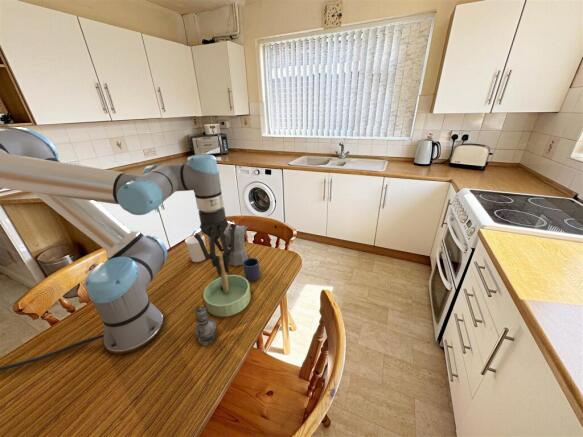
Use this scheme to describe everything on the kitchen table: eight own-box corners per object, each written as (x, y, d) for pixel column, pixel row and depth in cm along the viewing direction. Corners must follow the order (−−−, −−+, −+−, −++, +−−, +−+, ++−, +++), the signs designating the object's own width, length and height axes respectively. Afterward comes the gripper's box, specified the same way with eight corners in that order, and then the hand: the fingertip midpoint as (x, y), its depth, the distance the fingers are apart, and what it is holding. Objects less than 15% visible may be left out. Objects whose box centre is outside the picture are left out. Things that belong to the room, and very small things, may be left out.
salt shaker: (211, 347, 67) (203, 316, 62) (193, 344, 68) (183, 313, 63) (221, 330, 72) (214, 299, 67) (203, 327, 73) (195, 297, 68)
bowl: (212, 325, 74) (209, 313, 71) (201, 295, 85) (198, 284, 83) (257, 304, 81) (256, 293, 78) (241, 280, 92) (240, 269, 90)
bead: (221, 291, 84) (219, 284, 85) (221, 292, 86) (219, 286, 87) (228, 288, 85) (226, 282, 86) (227, 290, 87) (225, 284, 88)
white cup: (212, 256, 108) (208, 237, 104) (197, 265, 102) (192, 245, 98) (200, 251, 112) (196, 232, 108) (186, 260, 106) (181, 240, 102)
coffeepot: (246, 250, 112) (241, 215, 104) (256, 259, 105) (252, 222, 97) (214, 263, 103) (207, 226, 95) (223, 274, 96) (216, 235, 89)
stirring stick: (224, 294, 84) (217, 256, 77) (223, 291, 85) (215, 253, 78) (230, 292, 85) (223, 254, 78) (228, 289, 86) (221, 252, 79)
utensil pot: (248, 284, 90) (246, 269, 87) (242, 275, 95) (240, 261, 92) (262, 278, 93) (261, 263, 90) (256, 270, 98) (254, 256, 95)
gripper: (186, 218, 65) (203, 286, 75) (239, 206, 72) (247, 269, 82) (182, 209, 71) (197, 273, 81) (231, 199, 78) (240, 259, 88)
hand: (222, 271), depth 81 cm, fingers closed on stirring stick, 2 cm apart
